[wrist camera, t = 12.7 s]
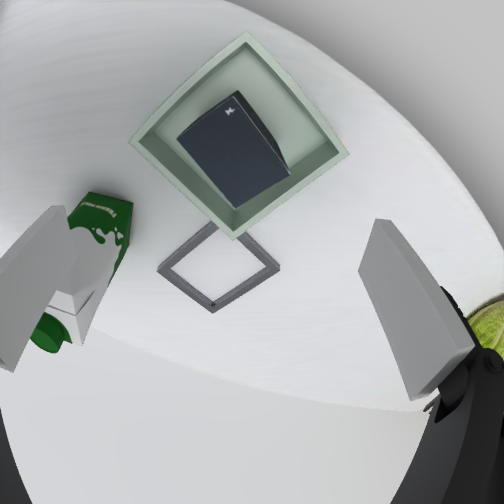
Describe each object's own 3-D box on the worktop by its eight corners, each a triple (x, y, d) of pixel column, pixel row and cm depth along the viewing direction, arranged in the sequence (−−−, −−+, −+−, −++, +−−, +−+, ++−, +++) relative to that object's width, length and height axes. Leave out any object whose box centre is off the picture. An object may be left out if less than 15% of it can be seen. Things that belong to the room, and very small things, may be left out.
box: (196, 118, 28) (173, 138, 19) (238, 88, 26) (234, 93, 18) (238, 171, 32) (234, 212, 23) (279, 144, 30) (293, 175, 21)
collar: (158, 266, 40) (156, 271, 39) (223, 210, 35) (223, 215, 34) (213, 308, 45) (212, 313, 44) (279, 265, 41) (280, 270, 40)
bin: (145, 131, 29) (127, 142, 24) (247, 39, 23) (247, 30, 19) (234, 216, 36) (232, 240, 31) (334, 141, 30) (350, 154, 26)
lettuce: (495, 271, 48) (495, 297, 56) (436, 351, 52) (444, 365, 59) (537, 300, 35) (529, 324, 43) (474, 390, 39) (475, 397, 47)
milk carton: (83, 237, 37) (16, 338, 21) (84, 183, 32) (-9, 278, 16) (134, 252, 39) (82, 367, 22) (140, 197, 34) (67, 310, 18)
